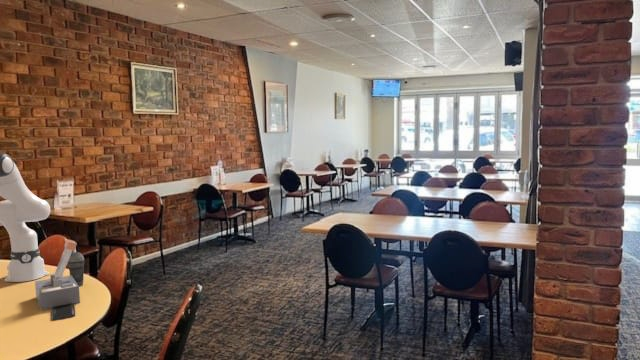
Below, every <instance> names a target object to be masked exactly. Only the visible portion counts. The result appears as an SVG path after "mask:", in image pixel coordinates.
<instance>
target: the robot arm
mask: <svg viewBox="0 0 640 360" xmlns="http://www.w3.org/2000/svg"><path fill="white" fill-rule="evenodd" d="M0 197H1V198H3V199H4V200H1V201H0V224H1V225H2V226H3V227H4V228H5V229H6V231H7V233H8V235H9V241H10V248H11V251H10V259H11V261H9V263H8V264H7V268H6V269H7V276H6V277H5V279H3V280H4V282H7V283H8V282H11V283H22V282H29V281H35V280H38V279H41V278H43V277H46V276H50V272H49V271H47V270H46V269H45V261H44V258H42V257H41V256H40V255H41V253H40V252H41V251H40V248H39V246H38V244H39V243H38V233H37V232H36V231H35V230H34V229H33V228H32V229H31V228H30V227H28V226H27V224H26V223H30V222H32V223H33V222H40V221H44V220H46V219H48V218H49V216H50V214H51V209H52V208H51V206H50V204H49V202H48V201H47V200H45V199H43V198H40V197H38V196H37V195H35V194H34V193H33V192H32V191H31V190H30V189H29V187H27V185H26V183H25V181H24V179H23V177H22V175H21V172H20V170H19V168H18V167H17V165H16V163H15V161H14V160H13V158H12V157H11V155H9V154H7V153H5V152H0Z"/></svg>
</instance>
